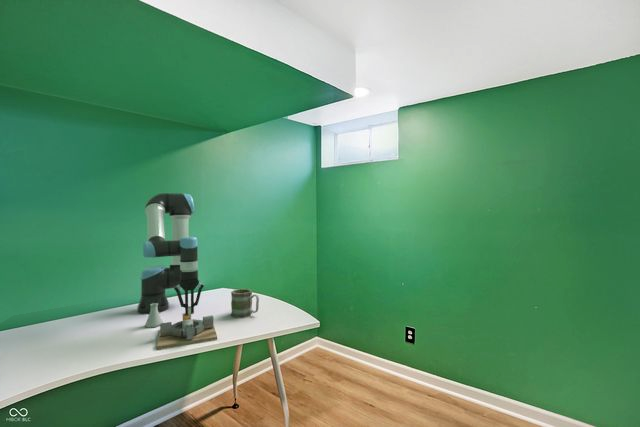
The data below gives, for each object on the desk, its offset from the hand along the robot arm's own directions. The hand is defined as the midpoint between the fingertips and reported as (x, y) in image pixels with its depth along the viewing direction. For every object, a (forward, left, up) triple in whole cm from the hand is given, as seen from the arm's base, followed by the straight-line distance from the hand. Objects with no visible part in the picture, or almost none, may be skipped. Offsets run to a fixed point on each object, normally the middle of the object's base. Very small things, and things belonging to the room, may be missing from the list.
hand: (189, 321), depth 138 cm
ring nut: (+9, -1, -1) cm, 10 cm away
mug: (-6, +27, -3) cm, 28 cm away
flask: (-10, -15, -3) cm, 18 cm away
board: (+9, -1, -3) cm, 10 cm away
